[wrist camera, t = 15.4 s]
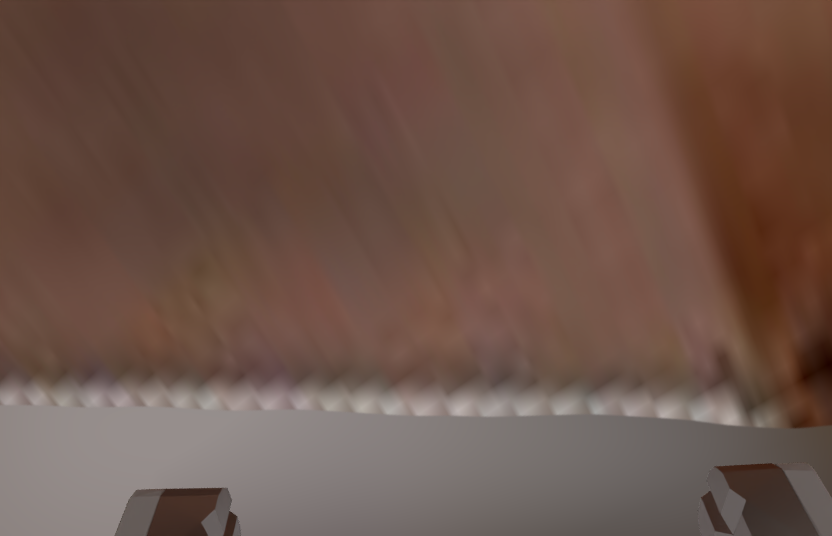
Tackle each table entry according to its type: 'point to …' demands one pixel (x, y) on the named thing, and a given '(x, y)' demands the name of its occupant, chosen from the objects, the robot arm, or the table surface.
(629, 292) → the table surface
